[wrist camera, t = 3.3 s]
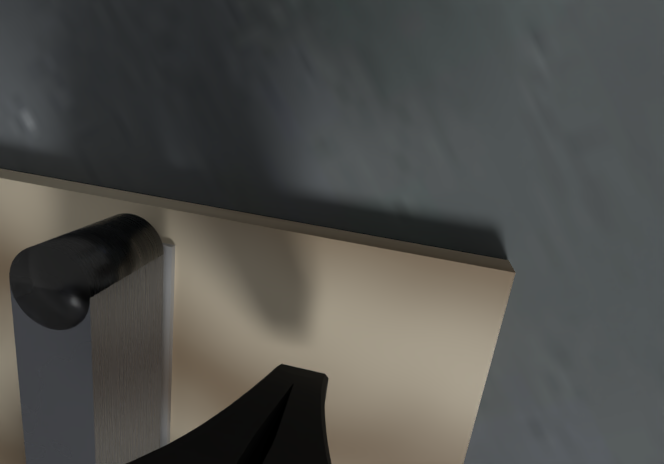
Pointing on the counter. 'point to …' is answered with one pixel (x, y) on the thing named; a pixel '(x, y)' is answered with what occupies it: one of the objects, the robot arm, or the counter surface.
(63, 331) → the grey lever handle
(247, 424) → the robot arm
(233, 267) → the base
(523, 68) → the counter surface
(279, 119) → the counter surface
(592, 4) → the counter surface
